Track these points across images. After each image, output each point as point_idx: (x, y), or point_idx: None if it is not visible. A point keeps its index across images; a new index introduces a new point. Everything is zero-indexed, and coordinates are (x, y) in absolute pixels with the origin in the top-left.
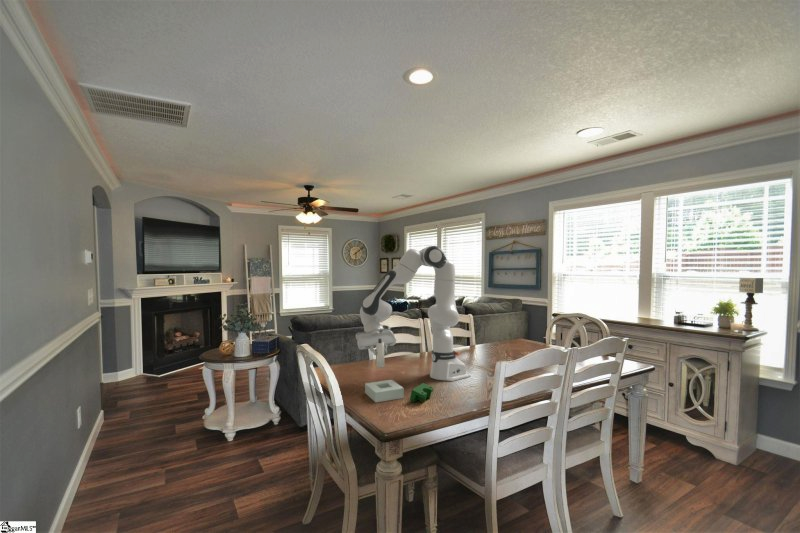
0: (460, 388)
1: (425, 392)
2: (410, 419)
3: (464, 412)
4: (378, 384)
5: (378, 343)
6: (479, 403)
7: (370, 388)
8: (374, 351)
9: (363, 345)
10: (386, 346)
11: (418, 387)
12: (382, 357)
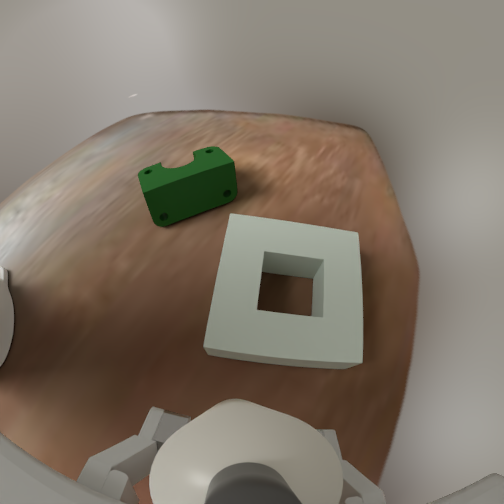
0: (41, 212)
1: (195, 153)
2: (298, 136)
3: (173, 114)
4: (308, 316)
5: (312, 460)
6: (109, 131)
7: (361, 287)
8: (336, 448)
9: (485, 481)
10: (112, 459)
11: (195, 170)
12: (236, 400)
